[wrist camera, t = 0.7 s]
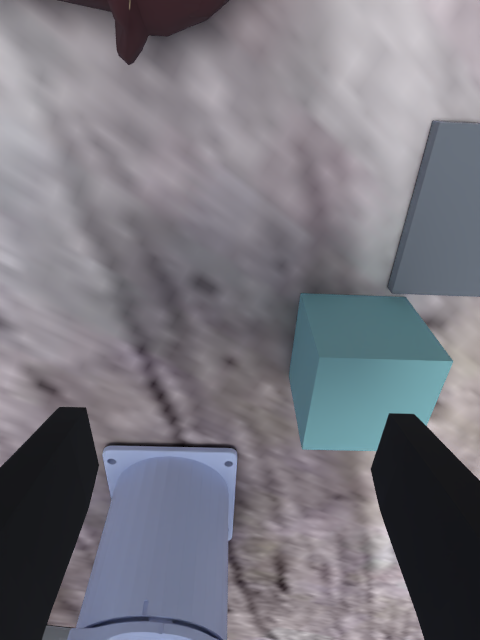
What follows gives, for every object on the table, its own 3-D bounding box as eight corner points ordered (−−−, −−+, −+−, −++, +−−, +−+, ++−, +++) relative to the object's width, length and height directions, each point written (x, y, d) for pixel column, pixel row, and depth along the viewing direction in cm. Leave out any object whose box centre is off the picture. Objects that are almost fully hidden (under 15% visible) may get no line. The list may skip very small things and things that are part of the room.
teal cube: (380, 377, 22) (415, 451, 18) (288, 374, 22) (301, 449, 18) (404, 296, 19) (453, 361, 15) (300, 292, 19) (319, 357, 15)
